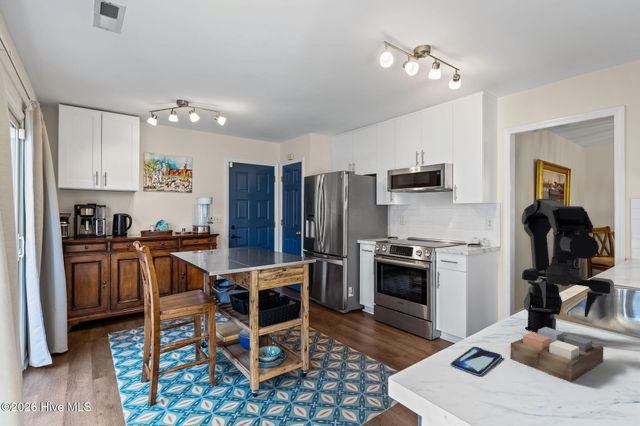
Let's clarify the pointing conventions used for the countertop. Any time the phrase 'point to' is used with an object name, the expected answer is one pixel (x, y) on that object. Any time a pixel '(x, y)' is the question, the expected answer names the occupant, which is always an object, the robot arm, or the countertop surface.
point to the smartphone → (476, 361)
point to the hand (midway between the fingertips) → (563, 312)
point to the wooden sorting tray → (557, 360)
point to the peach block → (536, 340)
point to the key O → (579, 342)
